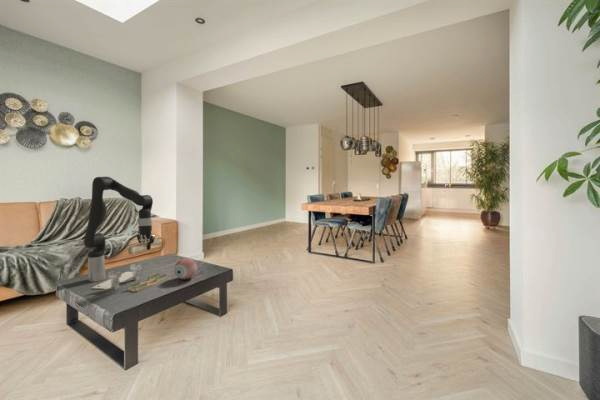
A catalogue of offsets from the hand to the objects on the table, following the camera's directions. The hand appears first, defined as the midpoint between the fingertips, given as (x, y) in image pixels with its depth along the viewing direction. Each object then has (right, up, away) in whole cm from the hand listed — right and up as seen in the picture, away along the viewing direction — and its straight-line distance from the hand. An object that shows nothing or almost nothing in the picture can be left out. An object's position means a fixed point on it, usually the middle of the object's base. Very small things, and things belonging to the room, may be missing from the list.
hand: (146, 249), depth 178 cm
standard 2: (-13, -24, +9) cm, 28 cm away
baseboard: (-24, -24, +8) cm, 35 cm away
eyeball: (+22, -24, +12) cm, 35 cm away
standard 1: (-17, -25, -6) cm, 30 cm away
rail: (0, 0, 0) cm, 0 cm away
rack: (0, -24, +2) cm, 24 cm away
